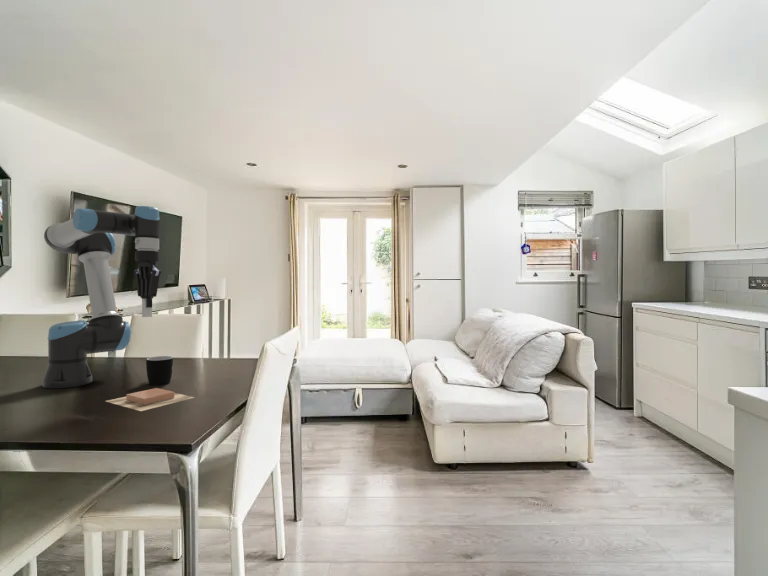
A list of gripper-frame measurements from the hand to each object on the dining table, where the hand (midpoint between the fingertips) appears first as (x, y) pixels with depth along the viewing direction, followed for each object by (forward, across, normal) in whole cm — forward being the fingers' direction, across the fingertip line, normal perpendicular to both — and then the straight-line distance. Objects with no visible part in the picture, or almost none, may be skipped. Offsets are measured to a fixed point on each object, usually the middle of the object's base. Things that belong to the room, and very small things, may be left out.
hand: (147, 316), depth 152 cm
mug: (+27, -6, +8) cm, 28 cm away
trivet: (+26, +14, -7) cm, 31 cm away
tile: (+25, +9, -7) cm, 27 cm away
